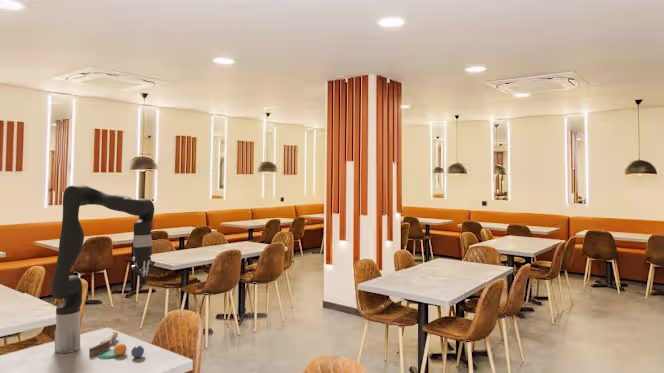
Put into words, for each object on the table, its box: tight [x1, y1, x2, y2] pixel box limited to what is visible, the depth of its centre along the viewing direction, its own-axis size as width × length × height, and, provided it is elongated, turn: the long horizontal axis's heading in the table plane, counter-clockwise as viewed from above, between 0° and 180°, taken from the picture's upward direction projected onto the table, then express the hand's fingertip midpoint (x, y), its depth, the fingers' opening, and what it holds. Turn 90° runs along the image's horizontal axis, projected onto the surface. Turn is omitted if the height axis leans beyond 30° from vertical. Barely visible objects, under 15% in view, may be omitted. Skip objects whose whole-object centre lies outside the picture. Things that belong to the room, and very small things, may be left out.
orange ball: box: [113, 342, 128, 357], centre depth 187 cm, size 5×5×5 cm
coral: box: [99, 331, 119, 346], centre depth 202 cm, size 6×10×4 cm, turn 7°
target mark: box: [97, 348, 126, 360], centre depth 189 cm, size 11×11×1 cm
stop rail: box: [88, 341, 111, 358], centre depth 191 cm, size 1×10×4 cm, turn 163°
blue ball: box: [130, 345, 145, 359], centre depth 185 cm, size 5×5×5 cm
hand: (143, 284), depth 187 cm, fingers closed
